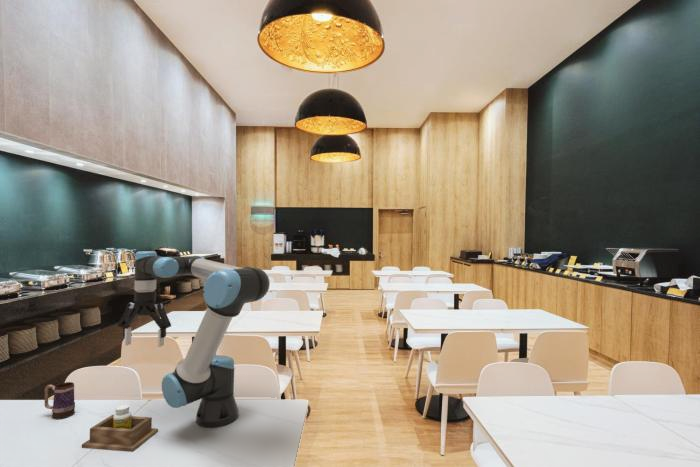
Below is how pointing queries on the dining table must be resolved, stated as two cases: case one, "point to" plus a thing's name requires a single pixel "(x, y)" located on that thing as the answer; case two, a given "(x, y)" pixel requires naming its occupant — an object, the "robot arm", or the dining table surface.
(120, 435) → the walnut caddy
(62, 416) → the mug
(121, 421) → the supplement bottle
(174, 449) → the dining table surface
